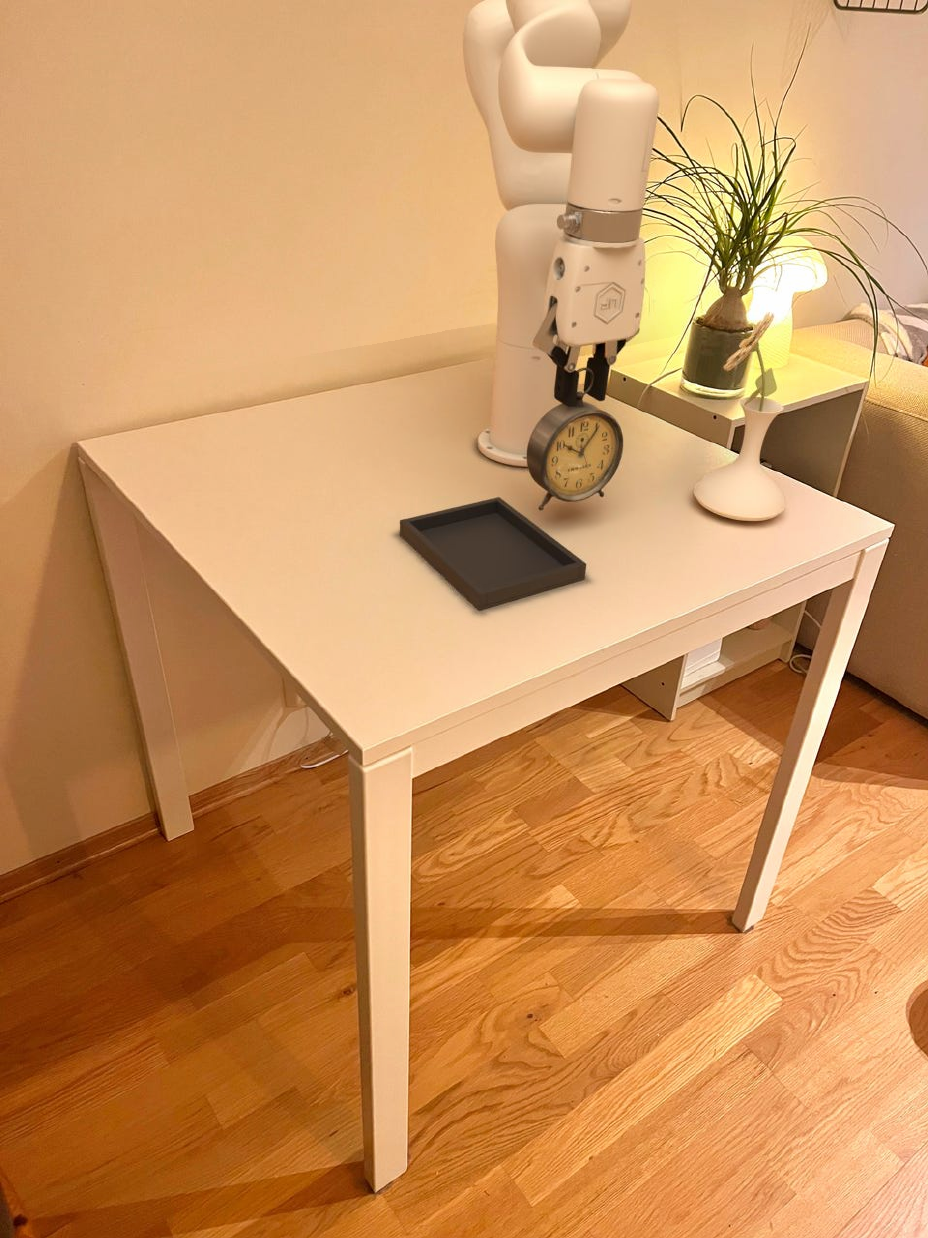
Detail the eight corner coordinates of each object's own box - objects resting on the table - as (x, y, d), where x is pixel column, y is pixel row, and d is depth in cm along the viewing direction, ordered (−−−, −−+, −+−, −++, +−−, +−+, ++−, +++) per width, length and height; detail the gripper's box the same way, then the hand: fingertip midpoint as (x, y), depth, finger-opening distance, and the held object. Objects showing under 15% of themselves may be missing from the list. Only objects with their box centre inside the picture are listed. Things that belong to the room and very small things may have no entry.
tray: (497, 511, 112) (499, 496, 111) (584, 579, 100) (586, 563, 99) (399, 535, 106) (399, 519, 105) (479, 610, 94) (480, 594, 93)
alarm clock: (538, 518, 104) (554, 382, 95) (514, 497, 108) (528, 364, 99) (616, 502, 109) (639, 369, 100) (591, 482, 113) (611, 353, 103)
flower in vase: (722, 480, 123) (766, 288, 108) (799, 511, 116) (856, 311, 102) (665, 509, 115) (705, 307, 101) (745, 544, 108) (798, 333, 94)
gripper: (556, 239, 84) (537, 425, 95) (690, 226, 92) (658, 400, 102) (512, 221, 90) (498, 399, 100) (642, 210, 97) (616, 377, 108)
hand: (579, 398), depth 101 cm, fingers closed on alarm clock, 3 cm apart
